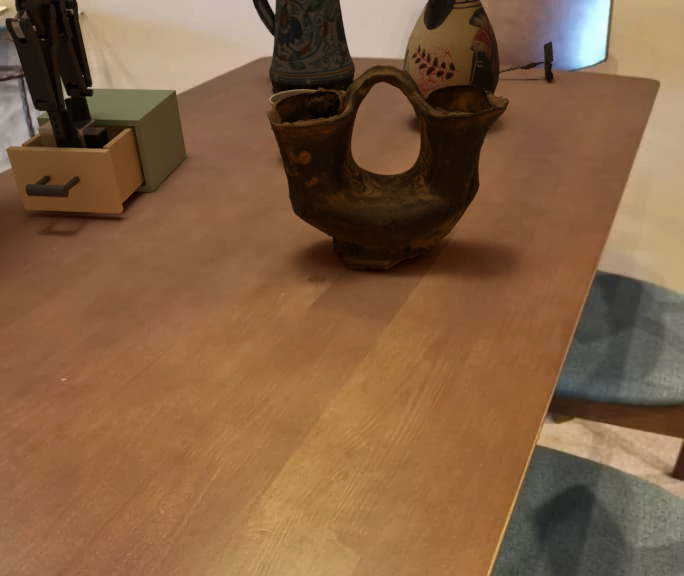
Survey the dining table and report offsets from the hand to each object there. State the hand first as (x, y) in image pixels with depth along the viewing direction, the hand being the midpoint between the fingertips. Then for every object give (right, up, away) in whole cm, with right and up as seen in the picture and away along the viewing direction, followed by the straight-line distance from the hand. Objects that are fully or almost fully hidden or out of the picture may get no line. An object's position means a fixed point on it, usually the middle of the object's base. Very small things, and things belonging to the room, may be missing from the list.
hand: (80, 156), depth 96 cm
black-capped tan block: (0, 0, 0) cm, 0 cm away
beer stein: (+28, +32, +45) cm, 62 cm away
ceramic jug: (+52, +16, +25) cm, 60 cm away
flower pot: (+29, +6, +15) cm, 33 cm away
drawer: (0, -5, +2) cm, 5 cm away
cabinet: (+2, +3, +13) cm, 13 cm away
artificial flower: (+64, +33, +45) cm, 85 cm away
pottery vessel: (+40, -16, -10) cm, 44 cm away
